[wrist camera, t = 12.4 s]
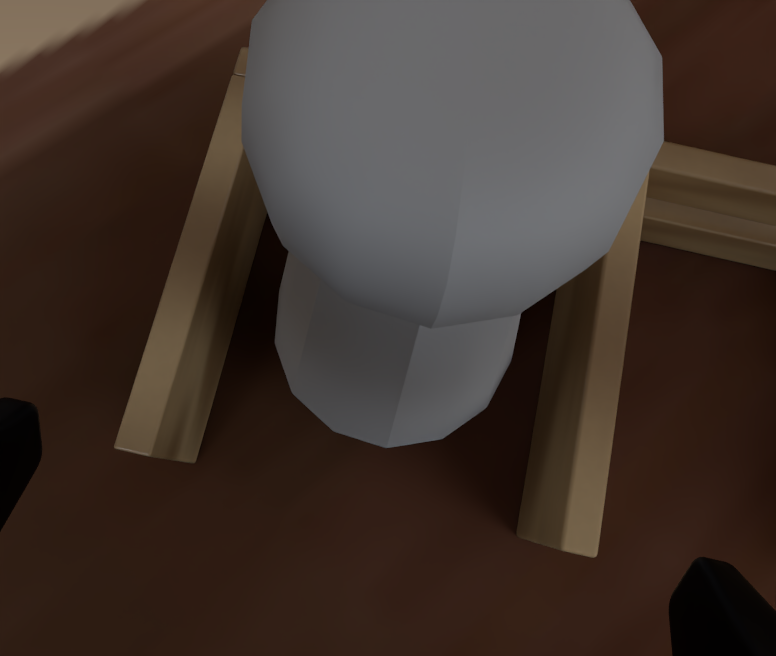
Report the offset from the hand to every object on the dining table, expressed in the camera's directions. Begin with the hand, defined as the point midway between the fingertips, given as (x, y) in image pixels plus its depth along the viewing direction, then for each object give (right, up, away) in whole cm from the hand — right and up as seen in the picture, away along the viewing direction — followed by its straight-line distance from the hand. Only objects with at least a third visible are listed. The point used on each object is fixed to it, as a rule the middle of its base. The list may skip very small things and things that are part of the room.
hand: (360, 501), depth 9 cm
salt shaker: (0, +2, +10) cm, 10 cm away
